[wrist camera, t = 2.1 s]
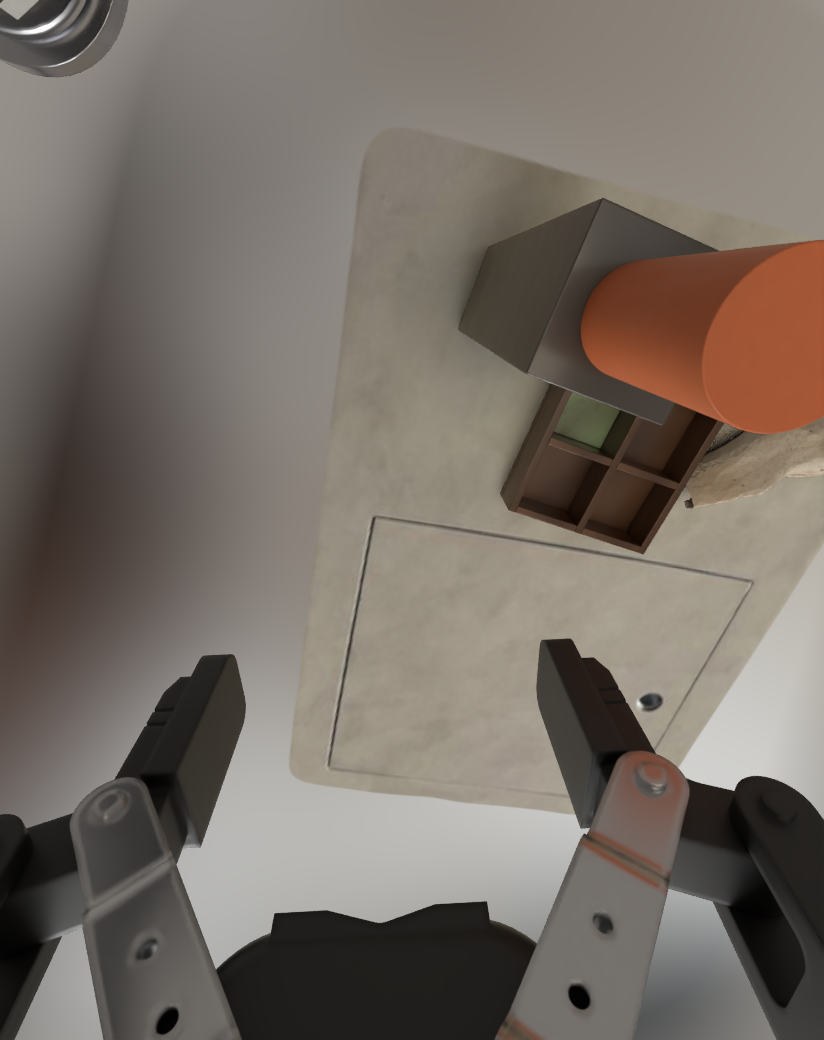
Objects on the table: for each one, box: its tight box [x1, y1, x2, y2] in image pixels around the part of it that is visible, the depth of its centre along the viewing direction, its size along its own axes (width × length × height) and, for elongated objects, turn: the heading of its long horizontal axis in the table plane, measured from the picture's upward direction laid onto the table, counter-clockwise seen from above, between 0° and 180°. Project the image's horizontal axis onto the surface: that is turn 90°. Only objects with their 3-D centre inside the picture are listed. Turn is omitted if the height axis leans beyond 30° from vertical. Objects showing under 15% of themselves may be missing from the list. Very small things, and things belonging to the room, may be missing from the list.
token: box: [581, 240, 824, 434], centre depth 15 cm, size 4×4×8 cm
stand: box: [458, 198, 718, 425], centre depth 28 cm, size 6×6×22 cm
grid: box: [500, 384, 724, 554], centre depth 42 cm, size 13×13×4 cm
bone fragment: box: [684, 416, 824, 508], centre depth 42 cm, size 14×6×5 cm, turn 109°
